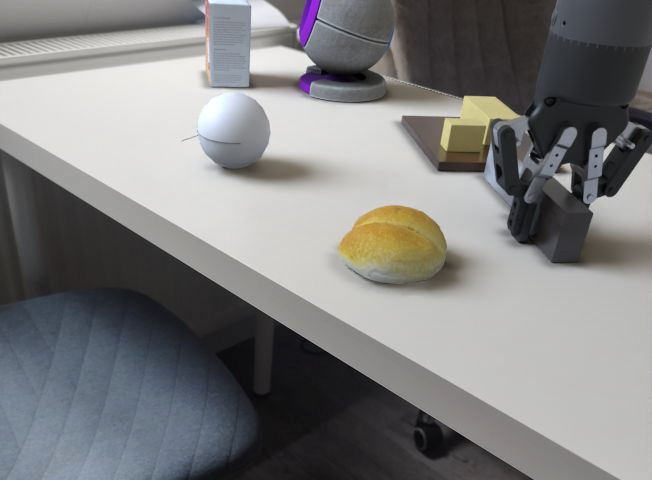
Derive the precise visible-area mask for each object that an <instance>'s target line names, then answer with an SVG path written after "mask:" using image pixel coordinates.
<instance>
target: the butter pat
mask: <svg viewBox="0 0 652 480" xmlns="http://www.w3.org/2000/svg"><path fill="white" fill-rule="evenodd" d="M485 130H486V125H485V124H484V123H483V122H482V121H481V120H480V119H463V118H445V121H444V127H443V132H442V138H441V143H440V145H441V146H442V147H443V148H444V149H445V150H446V152H481V148H482V144H483V139H484V134H485Z"/></svg>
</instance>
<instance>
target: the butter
mask: <svg viewBox="0 0 652 480" xmlns="http://www.w3.org/2000/svg"><path fill="white" fill-rule="evenodd" d="M459 117H460V118H463V119H480V120H481V121H482V122H483V123H484V124H485V125H486V130H485V134H484V139H483V144H484V145H490V144H491V134H490V124H491V122H492V121H493V120H494V119H496V118H500V119H502V120H503V121H508V120H511V119H514V118H517V117H520V115H518V113H516V112H515V111H513V110H512V109H511V108H510V107H509V106H507V105H506V104H505V103H504V102H502V101H501V100H500V99H498V98H497V97H496V96H482V95H464V96H463V100H462V106H461V110H460V116H459Z"/></svg>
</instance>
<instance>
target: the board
mask: <svg viewBox="0 0 652 480" xmlns="http://www.w3.org/2000/svg"><path fill="white" fill-rule="evenodd" d="M445 118H460V116H445V115H443V116H440V115H439V116H438V115H437V116H436V115H402V116H401V119H400V121H401V122H400V124H401V125H402V126H403V128H405V130H406V132H407V134H409V135H410V137H411V138H412V139H413V140H414V142H415V143H416V145H417V146H418V147H419V148H420V150H421V151H422V152H423V153H424V155H425V156H426V157H427V159H428V160H429V162H430V163H431V164H432V165H433V166H434V168H435V169H436V170H437V171H439V172H440V171H441V172H442V171H446V172H449V171H450V172H484V171H485V167H486V162H487V158H488V153H489V149H490V145H484V144H482V148H481V152H446V150H445V149H444V148H443V147H442V146H441V145H440V143H441V138H442V132H443V127H444V121H445ZM531 144H532V141H531V139H530V136H529V134H528V133H526V132H525V133H524V135H523V137H522V143H521V145H520V146H519V147H516V148H517V158H518V159H519V160H520V161H521V162H522V163H523V160H524V157H525V155H526V153H527V151H528V150H529V148H530V146H531ZM543 160H544V159H542V162H543ZM561 168H562V165H559V166H558V168H557V170H556V171H555V173H560V172H561V170H562V169H561Z"/></svg>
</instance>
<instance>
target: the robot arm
mask: <svg viewBox="0 0 652 480" xmlns="http://www.w3.org/2000/svg"><path fill="white" fill-rule="evenodd" d="M549 26H550V27H549V31H548V35H547V39H546V43H545V46H544V50H543V54H542V58H541V61H540V62H541V63H540V65H539V69H538V70H539V71H538V73H537V78H536V82H535V90H534V97H533V99H532V101H531V103H530V104H529V105H528V107H527V108H526V109H525V111H524V113H523V115H521V116H519V117H517V118H514V119H511V120H508V121H503V120H502V119H500V118H496V119H494V120H493V121H492V122H491V124H490V134H491V142H492V151H493V160H494V168H495V177H496V182H497V184H498V185H499V186H500V187H501V188H502V189H503V190H504V191H505V192H506V193H507V194H508V195H509V196H514V197H513V202H512V205H511V207H510V210H509V214H508V218H507V221H506V226H507V229H508V231H509V232H510V234H511V236H512V237H513V238H514V240H516V241H517V242H527V241H528V239H529V232H530V229H531V225H532V222H533V218H534V214H535V211H536V207H537V203H536V202H535V201H536V200H537V198H538V196H539V194H540V193H541V191H542V189H543V187H544V185H545V183H546V181H547V180H550V179H551V178H552V177H554V176H555V174H556V172H555V171H556V170H557V168H558V166H559V165H561V166H563V165H567V164H569V167H570V170H571V178H570V192H571V193H572V194H573V195H574V196H575V197H576V198H577V199H578V200H579V201H581V202H582V203H583V204H584V205H585V206H586V207H587V208H588V209H589V210H590V206H591V204H593V203H594V202H595V201H596V200H597V199H600V198H602V197H607V198H613V197H615V196H616V195H617V194H618V192H619V191H620V190H621V188H622V187H623V185H624V184H625V182H626V181H627V179H628V178H629V177H630V175H631V174H632V172H633V171H634V170H635V168H636V167H637V165H638V164H639V162H640V161H642V158H643V157H644V155H645V154H646V153H647V151H648V150H649V148H650V147H651V145H652V131H651V130H650V129H649V128H647V127H645V126H644V125H643V124H639V123H638V122H635V121H634V122H631V121H630V114H629V105H630V104H631V103H632V102H633V101H634V99H635V98H636V96H637V93H638V90H639V86H640V85H641V84H640V83H641V80H642V78H643V76H644V71H645V68H646V67H647V64H648V63H647V62H648V60H649V56H650V55H651V51H652V0H556V3H555V7H554V10H553V12H552V14H551V18H550V25H549ZM526 132H527V135H529V136H530V139H531V141H532V144H531V146H530V148H529V150H528V151H527V153H526V155H525V157H524V160H523V168H522V170H521V172H520V174H519V169H518V158H517V148H516V147H519V146H520V145H521V143H522V137H523V135H524V133H526ZM614 141H615V144H614V145H613V147H612V149H611V150H610V152H609V153H608V154H607V155H606V157H605V159H604V155H605V150H606V149H607V148H608V147H610V145H611V144H612V143H613V142H614ZM542 159H544V160H543V162H542Z"/></svg>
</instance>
